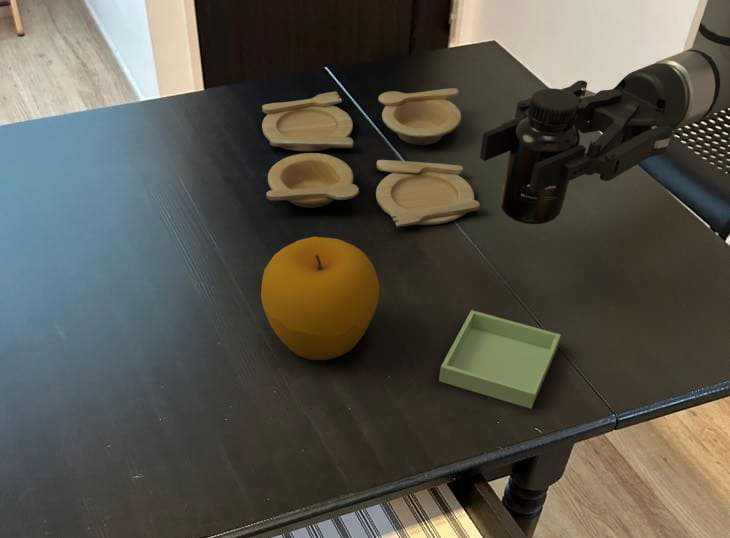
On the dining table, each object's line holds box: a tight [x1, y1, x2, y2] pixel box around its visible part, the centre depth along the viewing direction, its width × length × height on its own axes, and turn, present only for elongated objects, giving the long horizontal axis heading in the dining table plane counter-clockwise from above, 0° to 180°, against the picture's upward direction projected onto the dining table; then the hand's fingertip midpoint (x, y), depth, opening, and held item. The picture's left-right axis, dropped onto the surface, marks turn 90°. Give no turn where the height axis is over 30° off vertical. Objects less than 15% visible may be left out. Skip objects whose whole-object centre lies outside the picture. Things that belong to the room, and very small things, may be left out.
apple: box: [260, 236, 381, 361], centre depth 90 cm, size 13×13×11 cm
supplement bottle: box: [500, 87, 581, 225], centre depth 87 cm, size 7×7×12 cm
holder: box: [438, 309, 562, 410], centre depth 91 cm, size 10×10×2 cm
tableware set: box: [261, 87, 481, 228], centre depth 116 cm, size 35×29×4 cm
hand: (508, 162), depth 84 cm, fingers closed on supplement bottle, 7 cm apart
